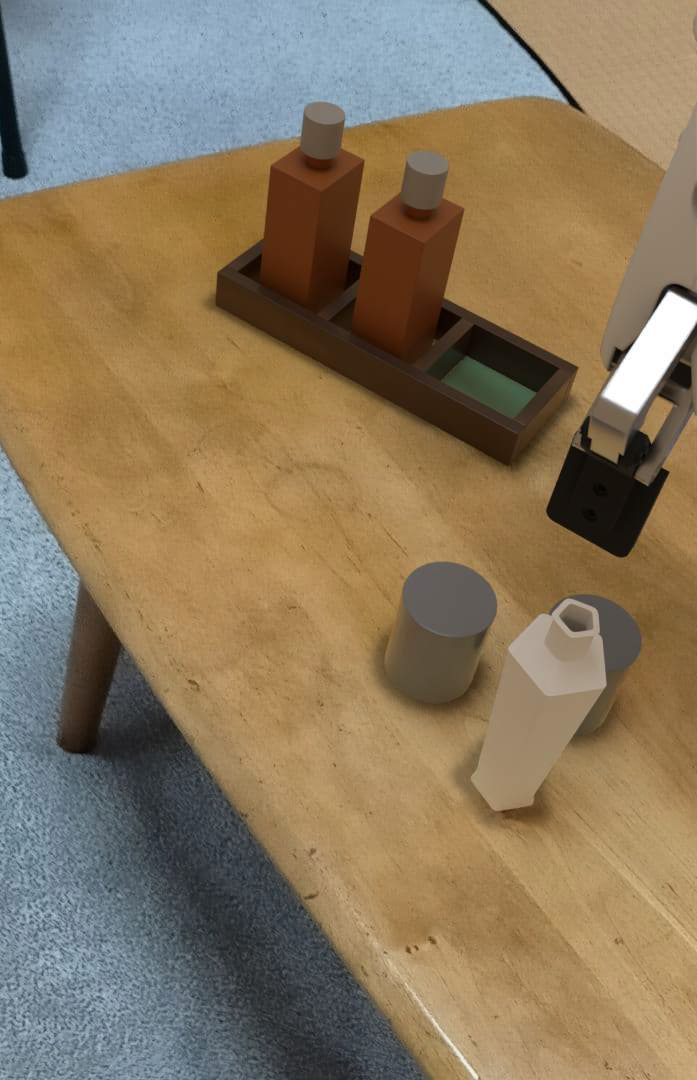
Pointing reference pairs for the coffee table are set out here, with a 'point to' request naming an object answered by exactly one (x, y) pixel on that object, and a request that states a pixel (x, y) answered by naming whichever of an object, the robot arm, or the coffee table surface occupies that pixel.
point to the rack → (451, 404)
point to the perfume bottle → (540, 703)
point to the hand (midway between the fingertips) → (644, 458)
